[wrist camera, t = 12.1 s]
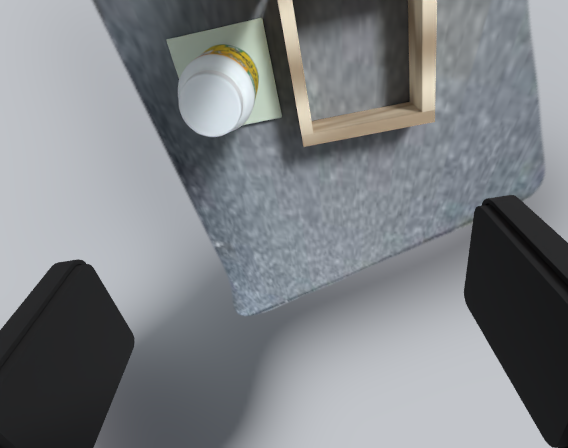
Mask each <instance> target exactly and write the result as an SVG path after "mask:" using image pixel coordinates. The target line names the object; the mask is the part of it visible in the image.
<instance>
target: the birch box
mask: <svg viewBox="0 0 568 448" xmlns="http://www.w3.org/2000/svg"><path fill="white" fill-rule="evenodd" d="M278 5H279V11H280V16H281V22H282V27H283V33H284V39H285V44H286V50H287V56H288V61H289V67H290V73H291V78H292V84H293V89H294V95H295V101H296V106H297V112H298V118H299V123H300V129H301V135H302V140H303V146H304V147H306V146H311V145H316V144H322V143H327V142H332V141H337V140H342V139H348V138H353V137H358V136H363V135H369V134H374V133H379V132H384V131H389V130H395V129H400V128H405V127H410V126H416V125H421V124H426V123H431V122H435V80H436V27H437V0H408V28H409V87H410V102H406V103H401V104H396V105H391V106H386V107H381V108H376V109H371V110H366V111H361V112H356V113H350V114H345V115H340V116H335V117H330V118H325V119H320V120H315V121H311V115H310V109H309V103H308V96H307V90H306V84H305V77H304V71H303V65H302V59H301V52H300V46H299V40H298V34H297V27H296V21H295V15H294V8H293V2H292V0H278Z"/></svg>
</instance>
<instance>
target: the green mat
mask: <svg viewBox="0 0 568 448" xmlns="http://www.w3.org/2000/svg"><path fill="white" fill-rule="evenodd" d="M166 41H167V44H168V47H169V50H170V53H171V56H172V59H173V62H174V65H175V68H176V71H177V74H178V77H179V79H180V76H181V74H182V72H183V71H184V69H185V68H186V66H187V65H188V64H189V63H190V62H191V61H193V60H194V59H195V58H197V57H198V56H199V55H201V54H202V53H203V52H205V51H206V50H207V49H209V48H210V47H212V46H214V45H218V44H230V45H234V46H236V47H239V48H241V49H242V50H244V51H245V52H247V53H248V54H249V55H250V57H251V58H252V59H253V61H254V62H255V64H256V67H257V69H258V73H259V85H258V90H257V95H256V99H255V104H254V107H253V110H252V112H251V115H250V116H249V118H248V120H247V121H246V122H245V123H244V124H243V125H246V124H251V123H256V122H261V121H266V120H271V119H276V118H281V117H282V114H281V109H280V104H279V99H278V94H277V89H276V84H275V79H274V74H273V69H272V64H271V59H270V54H269V49H268V44H267V39H266V34H265V29H264V24H263V19H262V18H258V19H254V20H250V21H245V22H241V23H237V24H232V25H228V26H224V27H219V28H215V29H211V30H206V31H202V32H197V33H193V34H189V35H184V36H180V37H176V38H171V39H167V40H166ZM197 134H199V133H197Z"/></svg>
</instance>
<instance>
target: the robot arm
mask: <svg viewBox="0 0 568 448" xmlns="http://www.w3.org/2000/svg"><path fill="white" fill-rule="evenodd" d="M464 297H465V301H466V304H467V306H468V308H469V310H470V312H471V313H472V315H473V317H474V319H475V320H476V322H477V324H478V325H479V327H480V329H481V330H482V332H483V334H484V336H485V338H486V339H487V341H488V343H489V345H490V346H491V348H492V350H493V351H494V353H495V355H496V357H497V358H498V360H499V362H500V363H501V365H502V367H503V369H504V371H505V372H506V374H507V376H508V377H509V379H510V381H511V383H512V384H513V386H514V388H515V390H516V391H517V393H518V395H519V396H520V398H521V400H522V401H523V403H524V405H525V407H526V409H527V410H528V412H529V414H530V415H531V417H532V419H533V421H534V422H535V424H536V426H537V428H538V429H539V431H540V433H541V434H542V436H543V438H544V439H545V441H546V442H547V443H548V444H549V445H550V446H551V447H555V448H557V447H558V448H568V243H567V242H566V241H565V240H564V239H563V238H562V237H561V236H560V235H558V234H557V233H556V232H555V231H554V230H553V229H552V228H551V227H550V226H548V225H547V224H546V223H545V222H544V221H543V220H542V219H541V218H539V216H537V215H536V214H535V213H534V212H533V211H532V210H531V209H530V208H528V206H526V205H525V204H524V203H523V202H522V201H521V200H520V199H519V198H518V197H516V196H514V195H508V196H502V197H495V198H488V199H485V200H484V201H483V203H482V206H478V207H476V209H475V212H474V218H473V226H472V234H471V242H470V249H469V257H468V265H467V272H466V281H465V288H464ZM133 348H134V336H133V333H132V332H131V330H130V328H129V327H128V325H127V323H126V322H125V320H124V318H123V316H122V315H121V313H120V312H119V310H118V308H117V306H116V305H115V303H114V301H113V300H112V298H111V297H110V295H109V293H108V291H107V290H106V288H105V287H104V285H103V283H102V281H101V280H100V278H99V276H98V275H97V273H96V271H95V270H94V268H93V267H92V266H91V265H89V264H86V263H85V262H84V261H83V260H72V261H66V262H59V263H56V264H54V265H53V266H52V267H51V268H50V269H49V271H48V272H47V273H46V274H45V275H44V277H43V278H42V279H41V280H40V282H39V283H38V284H37V286H36V287H35V288H34V289H33V291H32V292H31V293H30V294H29V295H28V297H27V298H26V299H25V300H24V302H23V303H22V304H21V305H20V307H19V308H18V309H17V310H16V312H15V313H14V314H13V315H12V316H11V318H10V319H9V320H8V321H7V323H6V324H5V325H4V326H3V328H2V329H1V330H0V448H93V447H94V445H95V442H96V440H97V437H98V435H99V432H100V430H101V427H102V425H103V422H104V420H105V417H106V415H107V412H108V410H109V408H110V405H111V402H112V400H113V398H114V395H115V393H116V390H117V388H118V385H119V383H120V380H121V378H122V375H123V373H124V370H125V368H126V365H127V363H128V360H129V358H130V355H131V353H132V350H133Z"/></svg>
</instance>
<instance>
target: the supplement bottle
mask: <svg viewBox="0 0 568 448" xmlns="http://www.w3.org/2000/svg"><path fill="white" fill-rule="evenodd" d="M258 85H259V73H258V69H257V67H256V64H255V62H254V61H253V59H252V58H251V57H250V55H249V54H248V53H247V52H245V51H244V50H242V49H241V48H239V47H236V46H234V45H230V44H218V45H214V46H212V47H210V48H209V49H207V50H206V51H205V52H203V53H202V54H201V55H199V56H198V57H197V58H195V59H194V60H193V61H191V62H190V63H189V64H188V65H187V66H186V68H185V69H184V71H183V72H182V74H181V76H180V79H179V83H178V98H179V109H180V113H181V115H182V118H183V119H184V121H185V122H186V124H187V125H188V126H189V127H190V128H191V129H192V130H194V131H195V132H197V133H199V134H201V135H204V136H208V137H218V136H222V135H225V134H227V133H229V132H231V131H234V130H236V129H238V128H239V127H241V126H242V125H243V124H244V123H245V122H246V121H247V120H248V118H249V116H250V115H251V112H252V110H253V107H254V104H255V99H256V95H257V90H258Z"/></svg>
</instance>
